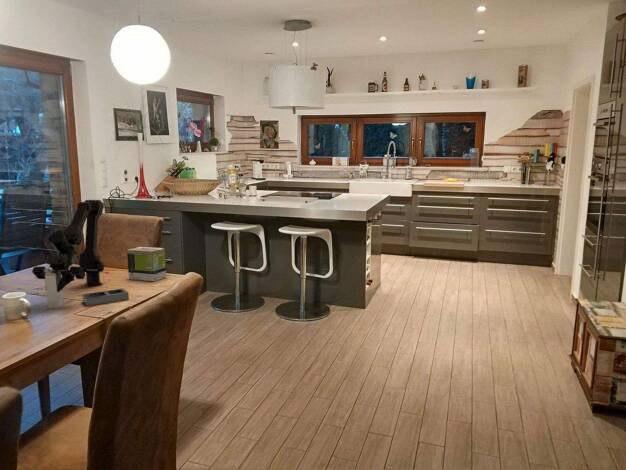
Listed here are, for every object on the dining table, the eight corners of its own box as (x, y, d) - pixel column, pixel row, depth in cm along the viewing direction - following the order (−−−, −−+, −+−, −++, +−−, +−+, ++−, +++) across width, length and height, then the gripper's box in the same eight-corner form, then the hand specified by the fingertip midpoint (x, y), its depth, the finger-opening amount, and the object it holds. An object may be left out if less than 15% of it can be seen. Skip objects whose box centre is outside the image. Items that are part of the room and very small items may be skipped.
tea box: (166, 277, 237) (165, 247, 235) (153, 282, 228) (152, 251, 225) (141, 274, 242) (140, 245, 240) (127, 279, 232) (126, 249, 230)
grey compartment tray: (82, 301, 196) (82, 294, 196) (123, 295, 206) (122, 288, 205) (87, 306, 190) (86, 299, 190) (128, 299, 200) (128, 292, 199)
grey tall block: (53, 305, 192) (50, 270, 189) (63, 305, 192) (60, 270, 189) (47, 308, 188) (44, 273, 185) (58, 308, 188) (55, 273, 185)
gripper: (32, 246, 190) (18, 280, 181) (79, 246, 190) (68, 280, 181) (44, 261, 199) (32, 295, 190) (90, 261, 199) (79, 295, 190)
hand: (52, 291), depth 187 cm, fingers closed on grey tall block, 4 cm apart
